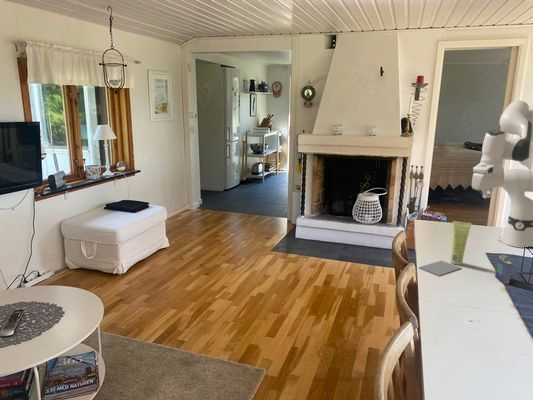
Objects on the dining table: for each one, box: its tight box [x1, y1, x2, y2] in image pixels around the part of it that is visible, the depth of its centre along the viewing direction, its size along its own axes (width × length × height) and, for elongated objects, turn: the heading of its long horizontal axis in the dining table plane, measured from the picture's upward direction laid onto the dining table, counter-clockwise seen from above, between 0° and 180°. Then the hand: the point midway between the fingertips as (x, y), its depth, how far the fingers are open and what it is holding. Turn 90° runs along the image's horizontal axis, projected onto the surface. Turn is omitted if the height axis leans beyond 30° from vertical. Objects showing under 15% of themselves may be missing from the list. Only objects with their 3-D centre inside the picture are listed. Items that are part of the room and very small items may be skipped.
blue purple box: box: [494, 254, 513, 285], centre depth 164 cm, size 9×3×11 cm, turn 172°
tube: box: [449, 220, 472, 266], centre depth 180 cm, size 6×5×20 cm
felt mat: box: [418, 260, 463, 277], centre depth 176 cm, size 16×10×1 cm, turn 122°
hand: (486, 197), depth 183 cm, fingers closed
